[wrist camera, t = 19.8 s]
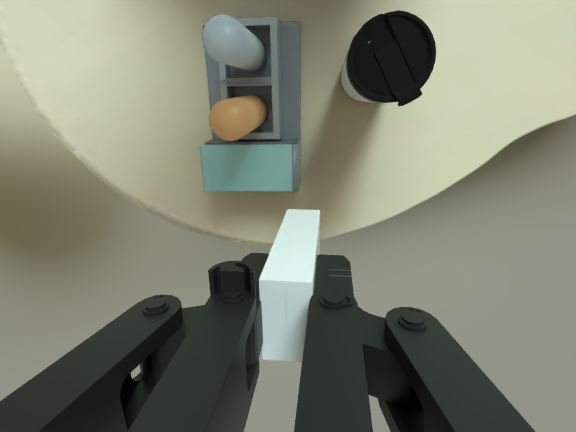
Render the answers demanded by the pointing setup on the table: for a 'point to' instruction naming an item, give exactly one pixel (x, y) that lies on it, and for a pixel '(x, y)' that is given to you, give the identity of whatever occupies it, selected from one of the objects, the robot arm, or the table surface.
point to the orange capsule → (238, 116)
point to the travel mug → (389, 59)
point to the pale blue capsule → (233, 44)
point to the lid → (250, 167)
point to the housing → (265, 83)
